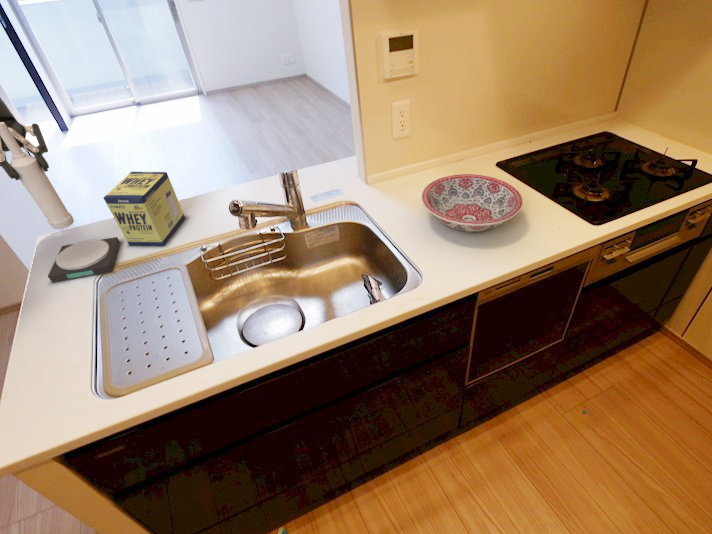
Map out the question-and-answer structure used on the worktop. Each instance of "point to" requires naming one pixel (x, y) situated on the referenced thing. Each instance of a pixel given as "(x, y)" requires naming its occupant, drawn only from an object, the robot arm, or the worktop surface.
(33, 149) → the robot arm
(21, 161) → the bottle
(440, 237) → the worktop surface
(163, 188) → the protein box
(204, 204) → the worktop surface
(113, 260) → the scale
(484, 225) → the ceramic bowl
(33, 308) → the worktop surface
